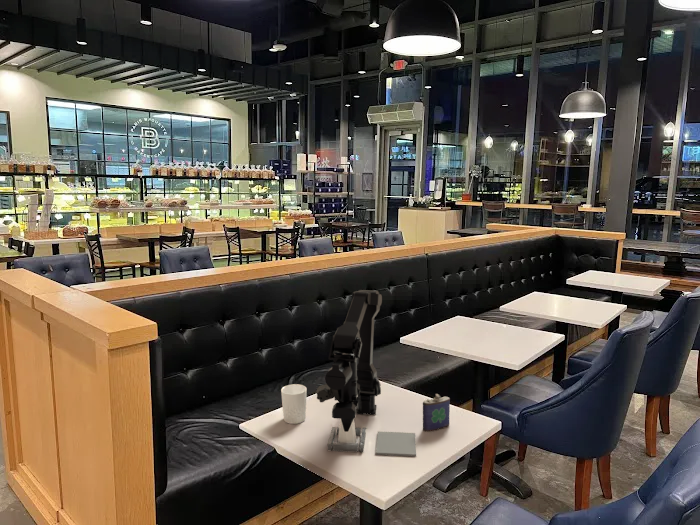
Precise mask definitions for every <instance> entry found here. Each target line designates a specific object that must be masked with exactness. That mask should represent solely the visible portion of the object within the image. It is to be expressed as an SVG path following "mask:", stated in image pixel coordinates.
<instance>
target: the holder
mask: <svg viewBox="0 0 700 525" xmlns="http://www.w3.org/2000/svg"><path fill="white" fill-rule="evenodd" d="M355 432H356V437H358V436H359V437H360V442H359V443H357V442H356V443H339V442H334V441H335V438H336V436H338V435H339V426H337V427H336V426H332V427H331V429H330V434H329V438H328V442H327V451H328V450H331V451H332V452H348V451H357V452H356V453H358V452H359V453H364V452H365V451H364V449H365V443H366V435H367V428H366V427H362V428H361V427H355ZM332 445H333V446H332Z"/></svg>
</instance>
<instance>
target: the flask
mask: <svg viewBox="0 0 700 525" xmlns="http://www.w3.org/2000/svg"><path fill="white" fill-rule="evenodd" d="M450 400H451V398H450V397H448V396H443V397H441V395H440V394H438V393H435V397H433V398H432V399H431V398H430V399H428V398H427V399H425V400H424V401H423V402H422V431H423V432H426V433H429V432H434V431H436V432H437V431H439V430H442V429H446V428H448V427H449V426H450V407H451V406H450V405H451V404H450V403H451V402H450Z"/></svg>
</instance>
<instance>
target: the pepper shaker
mask: <svg viewBox="0 0 700 525" xmlns="http://www.w3.org/2000/svg"><path fill="white" fill-rule="evenodd" d="M338 425H339V426H338V427H339V435H337V437H338V438H337V443H357V436H356V432H355V428H356V424H355V418H354V419H353V421H352V424H351V426H350V428H349V431H348V432H345V431H344V428H343V424H342V421H341V419H339V424H338Z"/></svg>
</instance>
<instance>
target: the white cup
mask: <svg viewBox="0 0 700 525" xmlns="http://www.w3.org/2000/svg"><path fill="white" fill-rule="evenodd" d="M280 391H281V392H280V394H281V403H282V404H281V406H282V411H283V413H282V414H283V420H284V422H285V423H287V424H291V425H294V424H296V425H297V424H298V425H299V424H301V423H303V422H304V421H305V420H306V417H307V416H306V413H307V412H306V411H307V394H308V393H307V387H306V386H305V385H303V384H297V383H294V384H288V385H285V386H282V388H281V389H280Z"/></svg>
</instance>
